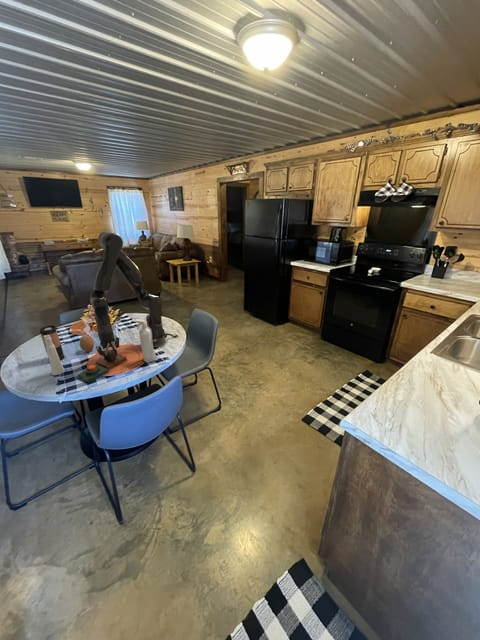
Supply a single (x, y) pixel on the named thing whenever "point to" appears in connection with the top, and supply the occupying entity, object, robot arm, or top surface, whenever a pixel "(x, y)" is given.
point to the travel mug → (54, 337)
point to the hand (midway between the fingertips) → (111, 357)
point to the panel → (112, 362)
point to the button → (91, 367)
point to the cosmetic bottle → (53, 357)
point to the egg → (86, 343)
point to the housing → (92, 373)
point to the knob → (111, 355)
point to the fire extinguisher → (146, 341)
